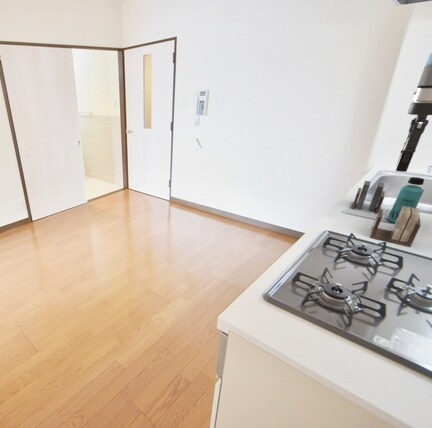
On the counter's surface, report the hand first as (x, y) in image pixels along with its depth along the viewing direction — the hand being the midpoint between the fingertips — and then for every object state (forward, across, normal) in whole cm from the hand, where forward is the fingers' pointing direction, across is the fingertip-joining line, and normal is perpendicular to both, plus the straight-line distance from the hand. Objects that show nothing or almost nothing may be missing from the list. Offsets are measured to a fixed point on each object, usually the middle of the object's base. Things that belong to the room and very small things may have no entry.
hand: (401, 168), depth 102 cm
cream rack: (+25, +6, +4) cm, 26 cm away
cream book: (0, 0, 0) cm, 0 cm away
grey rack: (+25, -18, -6) cm, 31 cm away
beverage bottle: (+25, -9, +6) cm, 28 cm away
